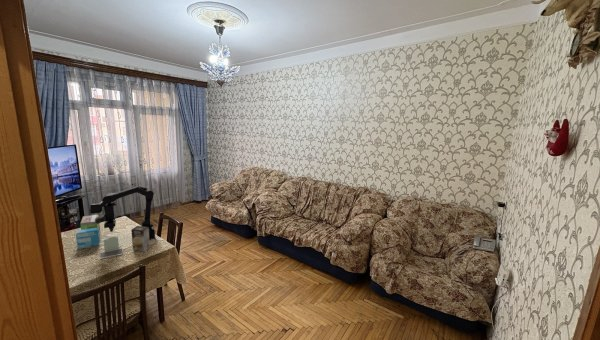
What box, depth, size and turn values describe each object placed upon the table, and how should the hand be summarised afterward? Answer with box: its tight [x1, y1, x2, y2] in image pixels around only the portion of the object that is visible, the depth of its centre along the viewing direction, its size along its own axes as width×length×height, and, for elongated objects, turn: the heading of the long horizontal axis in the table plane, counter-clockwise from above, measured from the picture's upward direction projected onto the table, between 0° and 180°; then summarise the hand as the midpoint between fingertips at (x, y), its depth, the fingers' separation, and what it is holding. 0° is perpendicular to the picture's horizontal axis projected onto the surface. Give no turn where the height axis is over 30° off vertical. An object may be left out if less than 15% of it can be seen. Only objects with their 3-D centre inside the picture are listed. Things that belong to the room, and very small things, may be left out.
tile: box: [103, 235, 120, 251], centre depth 178 cm, size 8×2×9 cm, turn 123°
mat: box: [99, 247, 123, 261], centre depth 173 cm, size 12×10×1 cm
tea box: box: [79, 214, 101, 235], centre depth 193 cm, size 15×10×15 cm
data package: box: [75, 228, 100, 249], centre depth 180 cm, size 12×4×12 cm, turn 126°
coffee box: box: [131, 225, 151, 252], centre depth 180 cm, size 9×6×16 cm
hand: (111, 231), depth 183 cm, fingers closed
